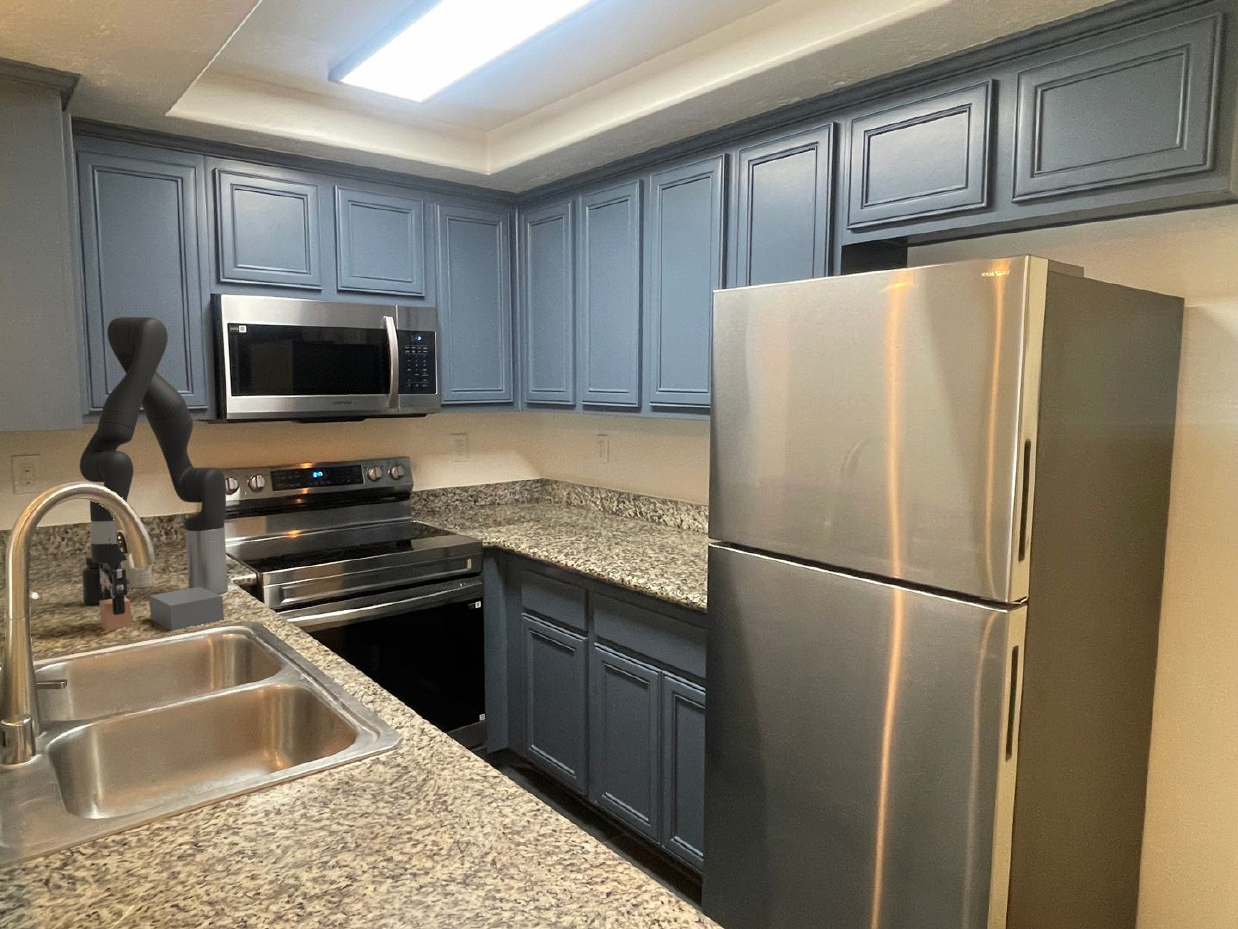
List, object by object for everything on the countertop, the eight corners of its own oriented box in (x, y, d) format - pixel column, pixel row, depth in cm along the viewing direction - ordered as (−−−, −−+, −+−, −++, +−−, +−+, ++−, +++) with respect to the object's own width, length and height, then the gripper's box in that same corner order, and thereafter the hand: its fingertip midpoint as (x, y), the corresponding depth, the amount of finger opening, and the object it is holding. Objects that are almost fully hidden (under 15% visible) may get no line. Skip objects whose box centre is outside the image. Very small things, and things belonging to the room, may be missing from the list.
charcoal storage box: (150, 620, 186) (149, 595, 186) (201, 611, 194) (199, 586, 194) (172, 632, 177) (170, 605, 176) (223, 621, 185) (222, 596, 184)
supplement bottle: (77, 605, 200) (73, 558, 199) (101, 598, 207) (98, 553, 206) (97, 607, 198) (94, 559, 197) (122, 600, 205) (119, 554, 204)
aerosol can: (139, 584, 222) (134, 513, 221) (158, 585, 220) (154, 514, 219) (117, 590, 216) (112, 517, 214) (137, 591, 214) (132, 517, 212)
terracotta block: (101, 626, 181) (99, 600, 180) (126, 622, 184) (124, 596, 184) (106, 631, 177) (104, 604, 177) (131, 626, 181) (130, 600, 180)
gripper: (84, 538, 182) (88, 608, 183) (98, 545, 171) (102, 619, 172) (122, 534, 187) (125, 602, 188) (137, 541, 176) (141, 613, 178)
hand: (114, 610), depth 180 cm, fingers open, 8 cm apart
